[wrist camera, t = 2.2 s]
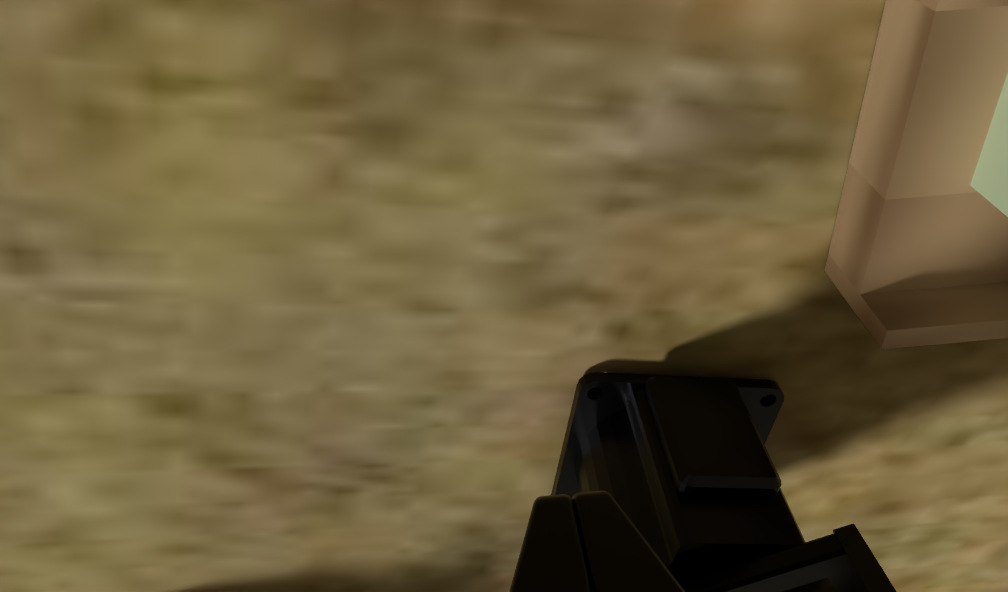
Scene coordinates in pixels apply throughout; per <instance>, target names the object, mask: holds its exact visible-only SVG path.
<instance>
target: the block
mask: <svg viewBox="0 0 1008 592" xmlns="http://www.w3.org/2000/svg"><path fill="white" fill-rule="evenodd" d="M970 186H971V187H973V188H974V189H975V190H976V191H977V192H978V193H980V194H981V195H982V196H983V197H984V198H986V199H987V200H988V201H989V202H990V203H992V204H993V205H994V206H995V207H996V208H997V209H999V210H1000V211H1001V212H1002V213H1003V214H1005V215H1006V216H1007V217H1008V73H1007V76H1006V79H1005V82H1004V85H1003V88H1002V91H1001V94H1000V97H999V100H998V103H997V106H996V109H995V112H994V115H993V118H992V121H991V124H990V127H989V130H988V133H987V136H986V139H985V142H984V145H983V148H982V151H981V154H980V157H979V160H978V163H977V166H976V169H975V172H974V175H973V178H972V181H971V184H970Z"/></svg>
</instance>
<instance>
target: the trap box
mask: <svg viewBox="0 0 1008 592" xmlns="http://www.w3.org/2000/svg"><path fill="white" fill-rule="evenodd" d="M1007 73H1008V0H886V3H885V7H884V11H883V16H882V20H881V25H880V29H879V33H878V38H877V42H876V46H875V51H874V55H873V60H872V64H871V68H870V73H869V77H868V82H867V86H866V90H865V95H864V99H863V104H862V108H861V112H860V117H859V121H858V125H857V130H856V134H855V139H854V143H853V147H852V152H851V156H850V161H849V165H848V169H847V174H846V178H845V183H844V187H843V191H842V196H841V200H840V205H839V209H838V213H837V218H836V222H835V226H834V231H833V235H832V240H831V244H830V248H829V253H828V257H827V262H826V266H825V270H824V271H825V272H826V274H827V275H828V277H829V278H830V279H831V281H832V282H833V283H834V285H835V286H836V288H837V289H838V290H839V292H840V293H841V294H842V296H843V297H844V299H845V300H846V301H847V303H848V304H849V305H850V307H851V308H852V310H853V311H854V312H855V314H856V315H857V316H858V318H859V319H860V321H861V322H862V323H863V325H864V326H865V327H866V329H867V330H868V331H869V333H870V334H871V336H872V337H873V338H874V340H875V341H876V342H877V344H878V345H879V347H880V348H881V349H893V348H904V347H915V346H927V345H938V344H949V343H960V342H971V341H982V340H993V339H1004V338H1008V217H1007V216H1006V215H1005V214H1003V213H1002V212H1001V211H1000V210H999V209H997V208H996V207H995V206H994V205H993V204H992V203H990V202H989V201H988V200H987V199H986V198H984V197H983V196H982V195H981V194H980V193H978V192H977V191H976V190H975V189H974V188H973V187H971V186H970V184H971V181H972V178H973V175H974V172H975V169H976V166H977V163H978V160H979V157H980V154H981V151H982V148H983V145H984V142H985V139H986V136H987V133H988V130H989V127H990V124H991V121H992V118H993V115H994V112H995V109H996V106H997V103H998V100H999V97H1000V94H1001V91H1002V88H1003V85H1004V82H1005V79H1006V76H1007Z"/></svg>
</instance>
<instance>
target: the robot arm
mask: <svg viewBox="0 0 1008 592" xmlns="http://www.w3.org/2000/svg"><path fill="white" fill-rule="evenodd" d="M596 387H598V388H599V389H597V390H595V391H589V390H590V389H592V388H596ZM766 395H768V396H767V397H764V396H766ZM762 397H763V398H762ZM783 400H784V395H783V392H782V390H781V389H780V387H779V385H778V383H776V382H775V381H772V380H762V379H738V378H715V377H692V376H668V375H645V374H622V373H598V372H596V373H589V374H587V375H584V376H583V377H582V378H581V379H580V380H579V382H578V384H577V387H576V391H575V396H574V400H573V404H572V408H571V413H570V417H569V421H568V425H567V430H566V434H565V438H564V442H563V447H562V451H561V455H560V459H559V464H558V468H557V472H556V476H555V481H554V485H553V489H552V493H551V495H550V496H541V497H538V498H537V499H536V500H535V502H534V504H533V508H532V511H531V515H530V519H529V522H528V526H527V530H526V533H525V537H524V541H523V544H522V548H521V552H520V555H519V559H518V563H517V566H516V570H515V574H514V577H513V581H512V585H511V588H510V592H896V590H895V589H894V587H893V585H892V584H891V582H890V581H889V579H888V577H887V576H886V574H885V573H884V571H883V569H882V568H881V566H880V565H879V563H878V561H877V560H876V558H875V557H874V555H873V553H872V552H871V550H870V549H869V547H868V545H867V544H866V542H865V541H864V539H863V537H862V536H861V534H860V533H859V531H858V529H857V528H856V526H855V525H854V524H850V525H847V526H844V527H841V528H838V529H834V530H833V533H834V534H831V535H828V536H825V537H822V538H818V539H815V540H812V541H809V542H805V540H804V538H803V536H802V534H801V532H800V529H799V527H798V525H797V523H796V521H795V519H794V516H793V514H792V512H791V510H790V508H789V506H788V503H787V501H786V499H785V497H784V495H783V493H782V490H781V488H780V487H781V480H780V477H779V475H778V473H777V471H776V469H775V467H774V465H773V462H772V460H771V458H770V456H769V454H768V452H767V450H766V447H765V445H764V444H765V441H766V439H767V437H768V435H769V432H770V430H771V428H772V426H773V423H774V421H775V419H776V417H777V414H778V412H779V410H780V408H781V405H782V403H783Z"/></svg>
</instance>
